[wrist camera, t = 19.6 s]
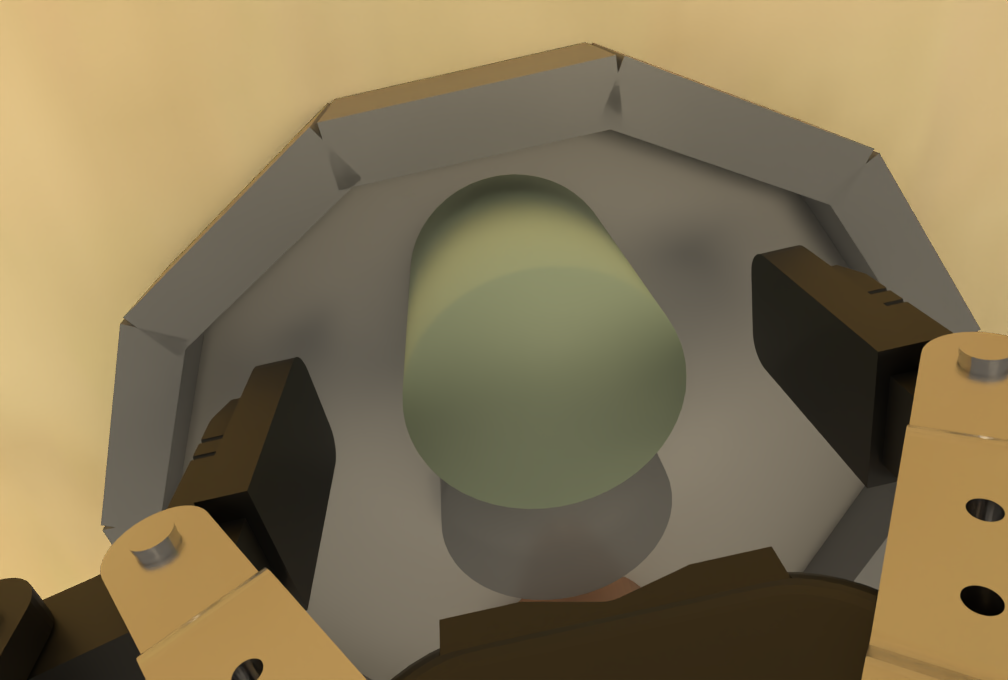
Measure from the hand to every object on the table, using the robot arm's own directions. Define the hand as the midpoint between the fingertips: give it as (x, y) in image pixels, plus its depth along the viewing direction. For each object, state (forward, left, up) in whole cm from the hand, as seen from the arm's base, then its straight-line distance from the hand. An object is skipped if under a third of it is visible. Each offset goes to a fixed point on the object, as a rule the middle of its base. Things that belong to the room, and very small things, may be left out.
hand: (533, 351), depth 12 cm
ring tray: (-6, 0, -4) cm, 7 cm away
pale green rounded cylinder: (0, 0, -3) cm, 3 cm away
